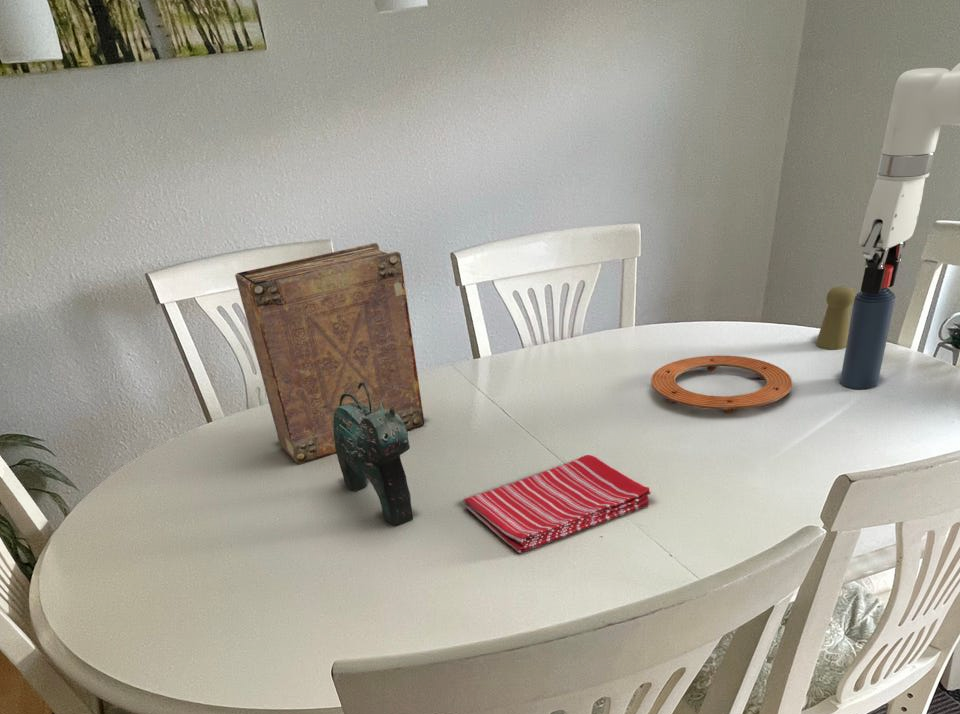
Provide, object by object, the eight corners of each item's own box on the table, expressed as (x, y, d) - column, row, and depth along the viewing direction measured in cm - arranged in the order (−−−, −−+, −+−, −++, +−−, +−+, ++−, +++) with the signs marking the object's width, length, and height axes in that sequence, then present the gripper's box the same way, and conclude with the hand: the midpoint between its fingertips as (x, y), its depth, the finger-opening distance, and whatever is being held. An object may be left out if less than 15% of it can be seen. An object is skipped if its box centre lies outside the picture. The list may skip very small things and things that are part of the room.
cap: (860, 287, 134) (863, 268, 132) (871, 281, 136) (875, 262, 134) (882, 290, 131) (886, 270, 129) (893, 284, 133) (897, 265, 131)
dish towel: (655, 504, 116) (656, 488, 114) (520, 556, 108) (519, 540, 106) (588, 463, 128) (588, 448, 126) (462, 507, 120) (460, 492, 118)
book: (403, 410, 152) (378, 242, 133) (425, 425, 145) (401, 251, 126) (280, 447, 143) (234, 273, 124) (296, 465, 136) (251, 284, 118)
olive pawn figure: (814, 348, 159) (825, 291, 152) (816, 338, 163) (827, 283, 156) (846, 350, 157) (858, 292, 150) (848, 340, 161) (859, 283, 154)
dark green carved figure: (425, 521, 118) (406, 393, 105) (387, 536, 115) (363, 406, 103) (367, 475, 131) (344, 356, 119) (332, 488, 129) (305, 368, 116)
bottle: (884, 379, 143) (907, 267, 132) (867, 391, 140) (890, 277, 128) (850, 373, 147) (870, 263, 135) (833, 384, 144) (852, 273, 132)
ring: (765, 361, 156) (767, 348, 154) (811, 411, 136) (813, 397, 135) (639, 372, 157) (639, 360, 155) (666, 424, 137) (667, 411, 135)
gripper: (906, 155, 128) (879, 274, 140) (854, 174, 120) (830, 298, 132) (953, 158, 124) (921, 280, 135) (902, 177, 116) (873, 305, 127)
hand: (877, 287), depth 134 cm, fingers closed on cap, 3 cm apart
